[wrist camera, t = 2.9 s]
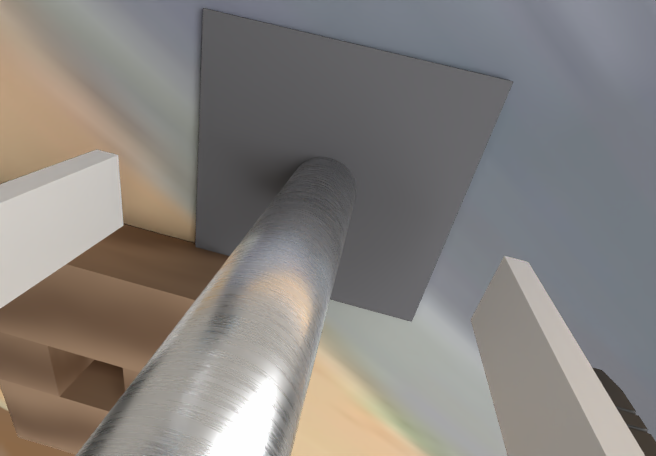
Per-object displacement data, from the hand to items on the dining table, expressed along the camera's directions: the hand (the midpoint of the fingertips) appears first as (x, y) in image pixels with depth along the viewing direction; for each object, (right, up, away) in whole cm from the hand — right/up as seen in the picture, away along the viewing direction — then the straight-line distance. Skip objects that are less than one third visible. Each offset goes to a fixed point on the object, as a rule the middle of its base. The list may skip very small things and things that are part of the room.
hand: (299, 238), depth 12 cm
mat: (+1, +2, +4) cm, 5 cm away
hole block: (-11, -6, +11) cm, 17 cm away
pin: (+1, +2, +4) cm, 5 cm away
